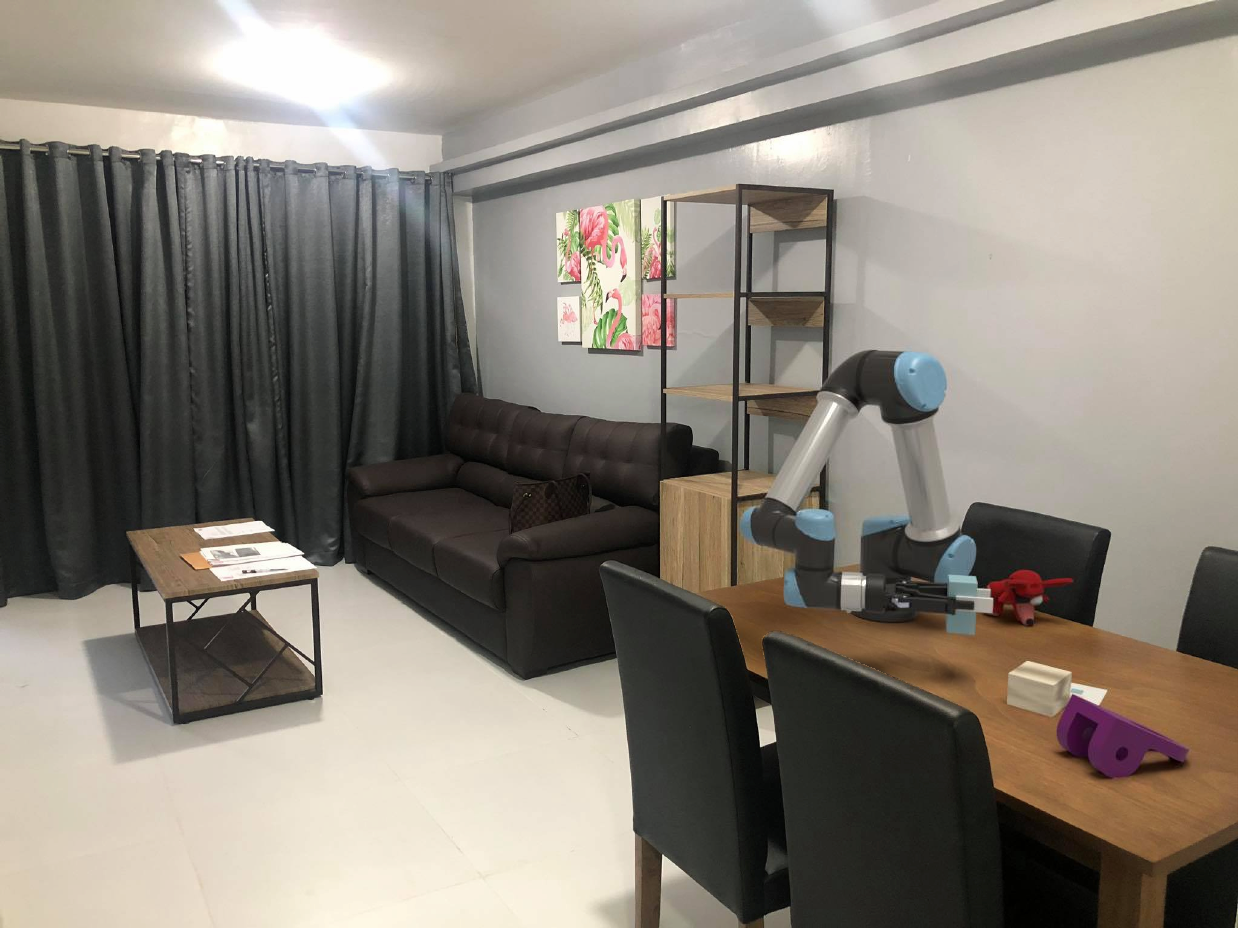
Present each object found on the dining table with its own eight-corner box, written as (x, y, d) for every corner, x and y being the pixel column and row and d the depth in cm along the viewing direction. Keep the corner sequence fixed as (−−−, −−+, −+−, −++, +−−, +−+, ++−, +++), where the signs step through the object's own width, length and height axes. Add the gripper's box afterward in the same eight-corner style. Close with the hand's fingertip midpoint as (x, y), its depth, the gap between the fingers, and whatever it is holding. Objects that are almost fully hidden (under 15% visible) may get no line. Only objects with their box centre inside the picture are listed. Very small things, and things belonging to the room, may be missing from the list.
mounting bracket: (1132, 777, 162) (1048, 741, 157) (1155, 730, 162) (1072, 693, 157) (1178, 806, 153) (1090, 769, 148) (1203, 756, 153) (1116, 717, 147)
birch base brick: (1025, 691, 182) (1027, 660, 181) (1069, 703, 177) (1071, 671, 175) (1006, 704, 177) (1008, 673, 176) (1051, 717, 171) (1053, 685, 170)
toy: (976, 634, 227) (1017, 619, 212) (965, 582, 231) (1005, 564, 216) (1038, 631, 230) (1083, 617, 215) (1027, 580, 235) (1069, 562, 220)
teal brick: (945, 624, 190) (948, 574, 188) (972, 626, 189) (975, 576, 187) (947, 632, 185) (949, 581, 184) (974, 634, 184) (977, 583, 182)
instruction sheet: (1056, 680, 188) (1056, 678, 188) (1107, 691, 183) (1107, 689, 183) (1041, 700, 178) (1041, 698, 178) (1095, 712, 173) (1095, 710, 173)
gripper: (865, 597, 200) (986, 605, 194) (862, 625, 183) (994, 635, 177) (866, 561, 199) (988, 568, 193) (863, 587, 182) (997, 595, 175)
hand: (991, 600), depth 185 cm, fingers closed on teal brick, 5 cm apart
